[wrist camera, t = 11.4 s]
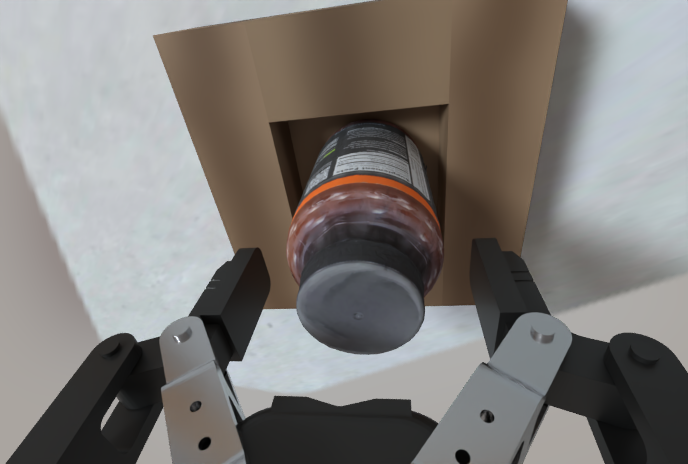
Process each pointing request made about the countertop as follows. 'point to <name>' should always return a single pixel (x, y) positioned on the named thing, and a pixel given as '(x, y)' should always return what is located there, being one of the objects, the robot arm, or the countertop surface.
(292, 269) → the supplement bottle
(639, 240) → the countertop surface
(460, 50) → the walnut holder
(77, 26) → the countertop surface
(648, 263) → the countertop surface
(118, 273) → the countertop surface
